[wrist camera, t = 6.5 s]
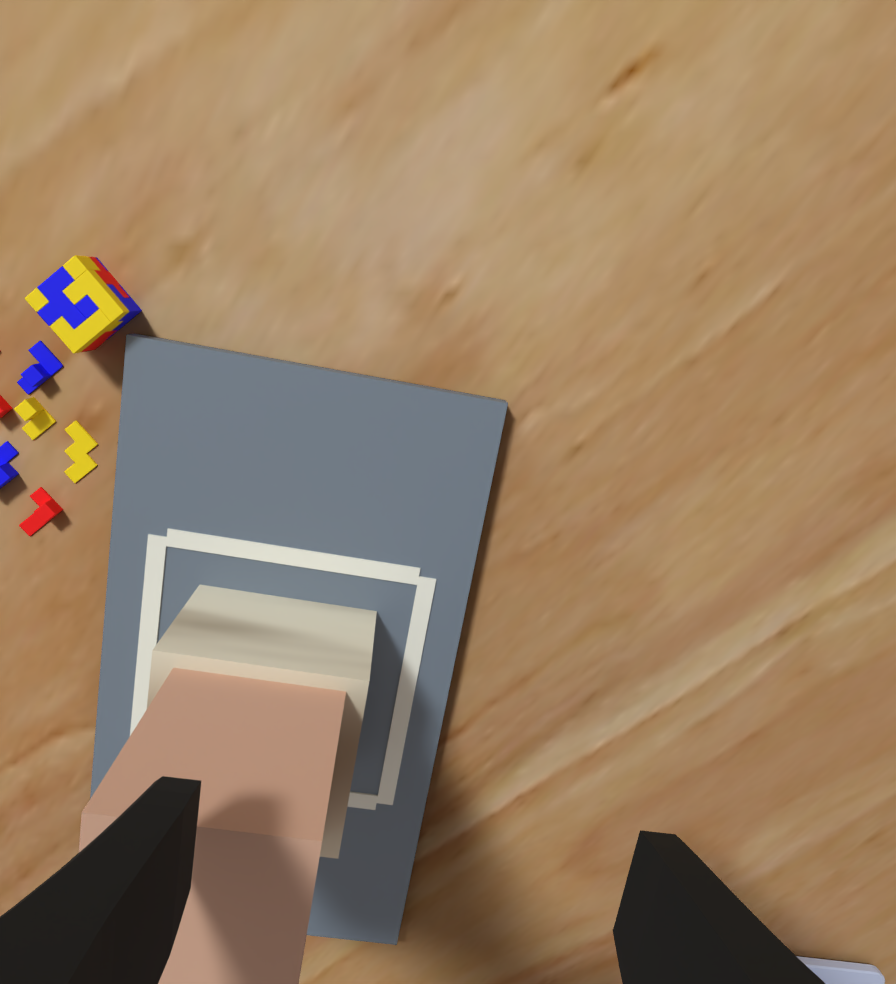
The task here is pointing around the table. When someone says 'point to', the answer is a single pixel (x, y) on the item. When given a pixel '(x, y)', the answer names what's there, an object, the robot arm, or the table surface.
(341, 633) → the birch base block
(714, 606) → the table surface
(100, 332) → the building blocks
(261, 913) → the terracotta block
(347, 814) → the board
